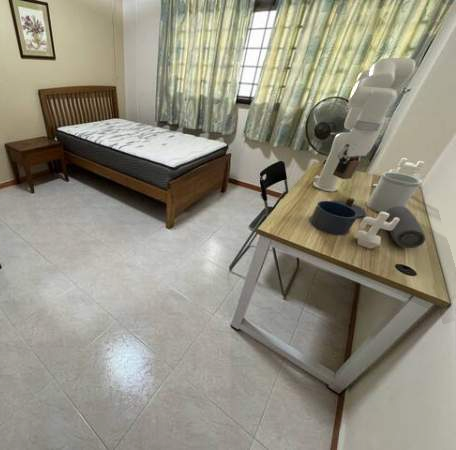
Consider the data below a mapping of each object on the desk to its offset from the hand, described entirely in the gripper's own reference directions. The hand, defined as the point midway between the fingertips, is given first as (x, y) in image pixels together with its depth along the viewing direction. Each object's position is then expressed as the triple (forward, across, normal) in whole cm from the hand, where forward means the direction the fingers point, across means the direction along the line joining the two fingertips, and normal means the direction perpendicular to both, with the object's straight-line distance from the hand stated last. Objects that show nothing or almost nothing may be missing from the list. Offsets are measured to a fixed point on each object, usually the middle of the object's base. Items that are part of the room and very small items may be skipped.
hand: (344, 171), depth 102 cm
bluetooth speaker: (+24, -21, +19) cm, 37 cm away
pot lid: (+23, -20, -4) cm, 30 cm away
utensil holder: (+24, -41, -2) cm, 47 cm away
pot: (+24, +1, +6) cm, 24 cm away
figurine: (+24, -2, +21) cm, 32 cm away
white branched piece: (+23, -68, -17) cm, 74 cm away
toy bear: (+2, 0, 0) cm, 2 cm away
